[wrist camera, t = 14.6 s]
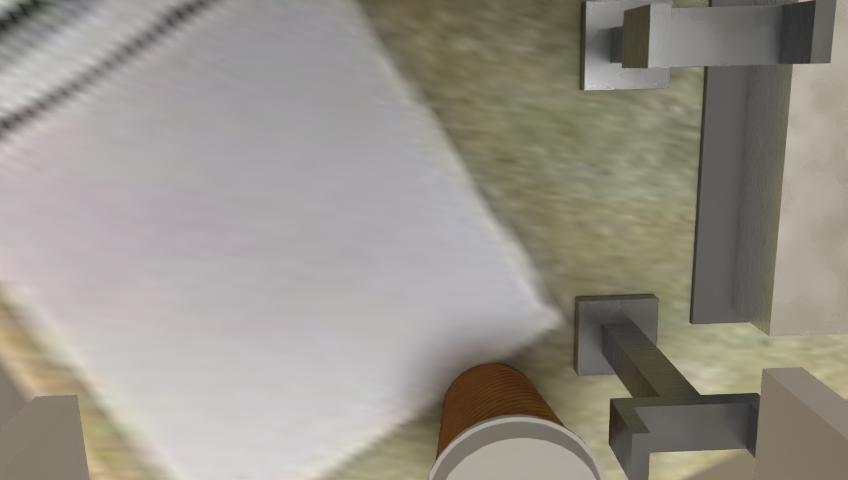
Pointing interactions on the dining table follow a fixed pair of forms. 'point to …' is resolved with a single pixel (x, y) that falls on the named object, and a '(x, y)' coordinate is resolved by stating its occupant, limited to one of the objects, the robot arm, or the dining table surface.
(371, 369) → the dining table surface
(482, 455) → the disposable coffee cup
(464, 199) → the dining table surface
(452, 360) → the dining table surface
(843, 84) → the steel rail
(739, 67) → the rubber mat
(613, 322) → the hook stand
